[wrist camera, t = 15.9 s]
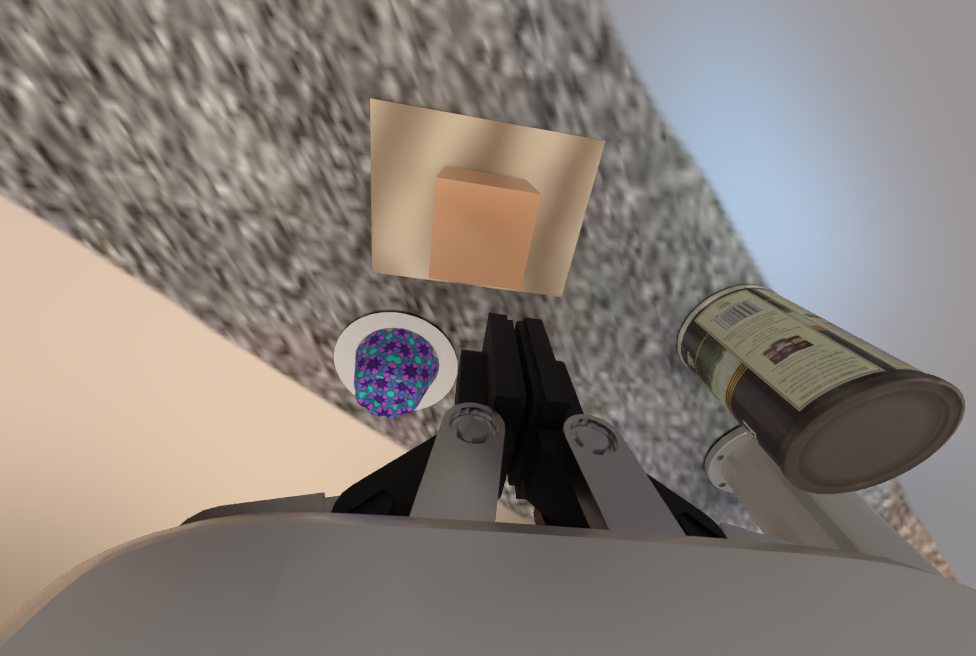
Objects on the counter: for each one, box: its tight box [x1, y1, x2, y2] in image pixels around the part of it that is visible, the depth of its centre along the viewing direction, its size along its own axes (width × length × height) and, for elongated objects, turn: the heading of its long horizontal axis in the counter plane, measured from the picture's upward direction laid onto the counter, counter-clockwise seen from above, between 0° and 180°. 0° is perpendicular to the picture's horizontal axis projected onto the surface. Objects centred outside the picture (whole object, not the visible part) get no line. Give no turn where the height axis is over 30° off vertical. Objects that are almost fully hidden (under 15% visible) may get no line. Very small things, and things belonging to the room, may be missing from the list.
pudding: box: [334, 312, 458, 418], centre depth 33 cm, size 12×12×5 cm
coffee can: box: [677, 285, 965, 494], centre depth 28 cm, size 10×10×14 cm
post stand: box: [370, 98, 605, 297], centre depth 24 cm, size 16×12×8 cm
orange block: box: [429, 166, 542, 290], centre depth 22 cm, size 6×6×7 cm
